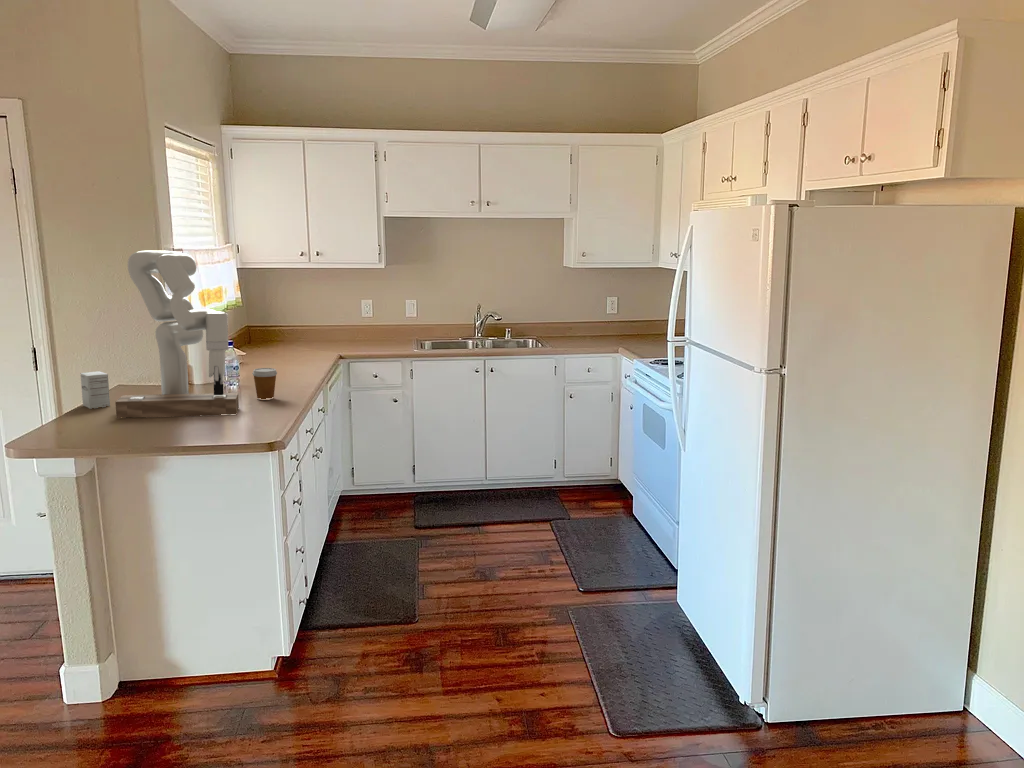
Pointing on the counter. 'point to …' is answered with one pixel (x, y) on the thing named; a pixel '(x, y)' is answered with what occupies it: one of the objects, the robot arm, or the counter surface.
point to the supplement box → (95, 389)
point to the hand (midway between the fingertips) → (218, 394)
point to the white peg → (219, 396)
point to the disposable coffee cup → (265, 382)
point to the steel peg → (136, 398)
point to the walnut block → (176, 405)
